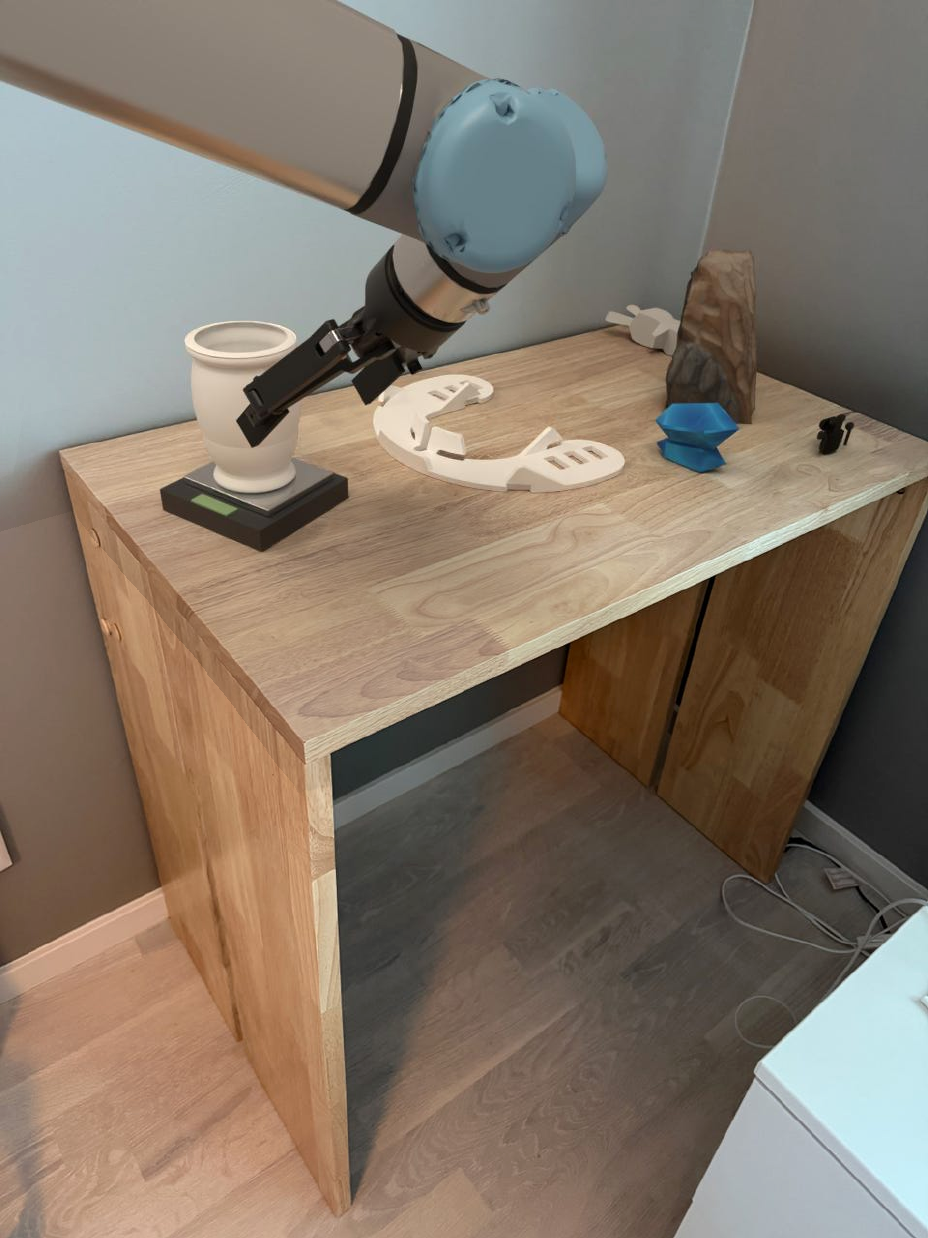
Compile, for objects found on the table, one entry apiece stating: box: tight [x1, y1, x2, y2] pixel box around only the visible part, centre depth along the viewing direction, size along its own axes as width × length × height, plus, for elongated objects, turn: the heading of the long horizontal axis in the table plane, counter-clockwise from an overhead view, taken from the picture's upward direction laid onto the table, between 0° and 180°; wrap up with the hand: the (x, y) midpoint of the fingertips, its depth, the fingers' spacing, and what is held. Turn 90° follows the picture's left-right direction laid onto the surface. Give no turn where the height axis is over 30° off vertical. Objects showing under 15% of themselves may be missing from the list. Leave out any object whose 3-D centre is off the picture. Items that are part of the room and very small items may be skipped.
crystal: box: [654, 403, 740, 474], centre depth 106 cm, size 7×9×12 cm
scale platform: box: [182, 456, 335, 517], centre depth 94 cm, size 12×10×1 cm
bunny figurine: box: [605, 304, 681, 357], centre depth 142 cm, size 10×5×15 cm
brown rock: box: [664, 248, 758, 425], centre depth 118 cm, size 13×13×20 cm
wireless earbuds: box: [816, 413, 855, 455], centre depth 113 cm, size 7×2×5 cm, turn 123°
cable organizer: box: [372, 374, 626, 494], centre depth 111 cm, size 35×24×3 cm
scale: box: [159, 472, 350, 553], centre depth 95 cm, size 14×14×3 cm
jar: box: [184, 320, 302, 493], centre depth 89 cm, size 11×10×15 cm
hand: (306, 411), depth 81 cm, fingers open, 13 cm apart
